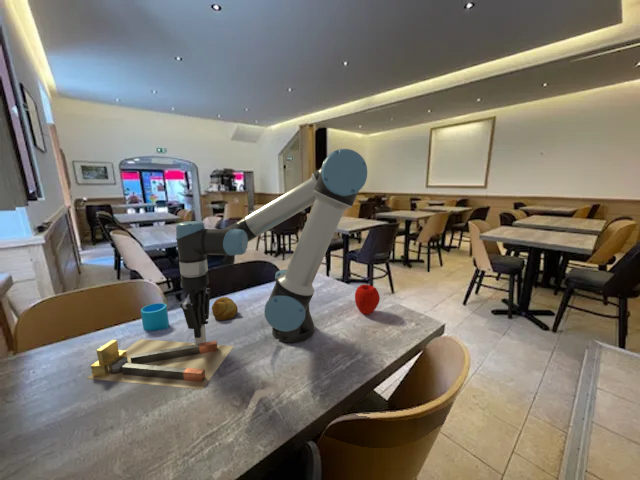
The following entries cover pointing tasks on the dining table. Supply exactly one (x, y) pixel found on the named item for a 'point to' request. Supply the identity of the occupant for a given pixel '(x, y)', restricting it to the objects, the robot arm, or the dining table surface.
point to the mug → (155, 317)
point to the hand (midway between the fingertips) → (201, 344)
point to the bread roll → (224, 308)
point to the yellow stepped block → (106, 358)
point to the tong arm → (174, 353)
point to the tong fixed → (156, 371)
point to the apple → (366, 299)
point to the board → (171, 364)
